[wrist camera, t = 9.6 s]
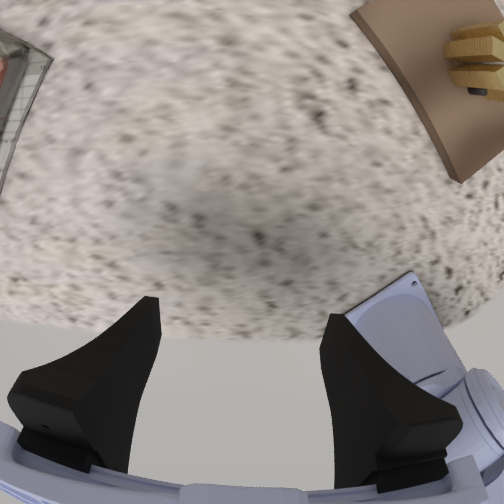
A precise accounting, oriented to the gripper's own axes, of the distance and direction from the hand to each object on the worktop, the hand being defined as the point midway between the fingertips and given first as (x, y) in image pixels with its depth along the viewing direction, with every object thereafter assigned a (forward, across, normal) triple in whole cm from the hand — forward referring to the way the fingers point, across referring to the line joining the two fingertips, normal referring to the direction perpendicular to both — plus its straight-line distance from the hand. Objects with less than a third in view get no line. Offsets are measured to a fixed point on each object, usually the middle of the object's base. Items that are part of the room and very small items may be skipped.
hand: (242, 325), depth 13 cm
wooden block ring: (+8, -13, -14) cm, 21 cm away
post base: (+9, -13, -14) cm, 22 cm away
